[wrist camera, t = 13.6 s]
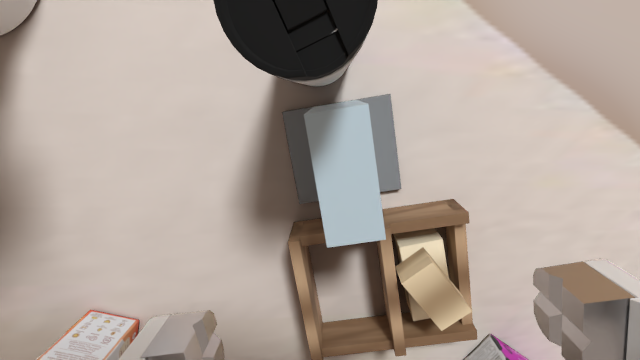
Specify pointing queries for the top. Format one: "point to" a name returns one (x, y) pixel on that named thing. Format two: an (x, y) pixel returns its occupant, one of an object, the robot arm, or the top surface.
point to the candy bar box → (494, 351)
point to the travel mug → (298, 35)
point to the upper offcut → (432, 289)
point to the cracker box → (94, 338)
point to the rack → (384, 286)
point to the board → (345, 172)
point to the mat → (381, 138)
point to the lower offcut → (412, 243)
